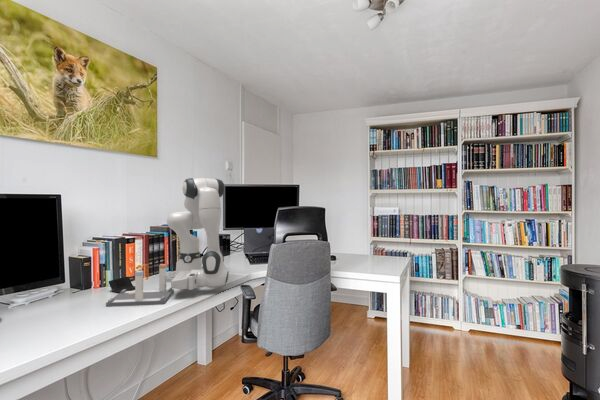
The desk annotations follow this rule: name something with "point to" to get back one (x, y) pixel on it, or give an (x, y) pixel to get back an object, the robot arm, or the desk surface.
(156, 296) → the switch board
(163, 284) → the grey upright post
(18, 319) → the desk surface
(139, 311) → the desk surface
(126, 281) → the handheld gaming console
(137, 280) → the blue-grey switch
